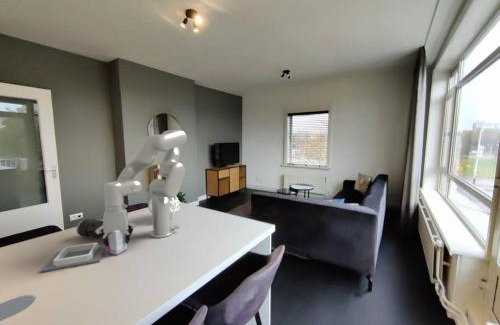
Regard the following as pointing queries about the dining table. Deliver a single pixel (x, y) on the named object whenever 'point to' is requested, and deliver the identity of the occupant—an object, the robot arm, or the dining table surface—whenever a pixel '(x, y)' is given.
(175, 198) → the decorative ball
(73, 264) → the socket plate
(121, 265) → the dining table surface
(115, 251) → the supplement box
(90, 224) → the muzzle brake
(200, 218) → the dining table surface
